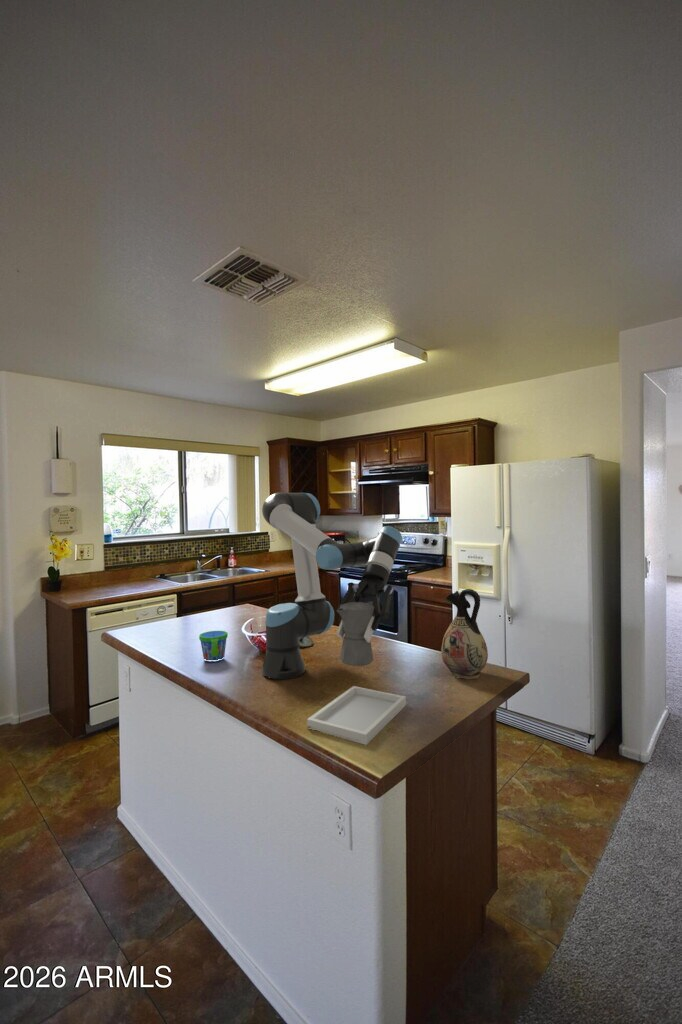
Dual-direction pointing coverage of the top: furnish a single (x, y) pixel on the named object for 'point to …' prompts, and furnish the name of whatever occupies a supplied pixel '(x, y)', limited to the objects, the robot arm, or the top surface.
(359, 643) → the coffeepot
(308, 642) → the lid
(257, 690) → the top surface
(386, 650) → the top surface
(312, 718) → the docking tray
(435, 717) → the top surface
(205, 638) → the snack cup
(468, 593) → the ceramic jug
